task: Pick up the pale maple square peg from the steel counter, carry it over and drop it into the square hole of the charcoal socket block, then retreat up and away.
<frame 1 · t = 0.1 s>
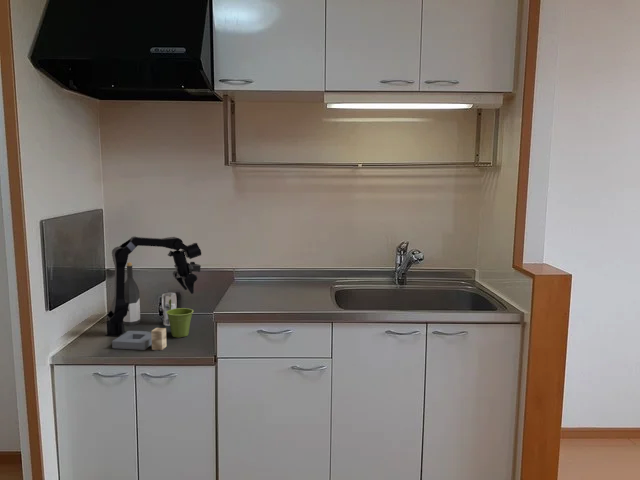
hand: (189, 291, 230), 15 cm above the worktop, tool pointing down, fingers open, 9 cm apart
wine bottle: (131, 323, 230), on the worktop
plant pot: (180, 335, 213), on the worktop
socket block: (136, 343, 201), on the worktop
beer glass: (169, 324, 229), on the worktop
maple peg: (159, 348, 196), on the worktop
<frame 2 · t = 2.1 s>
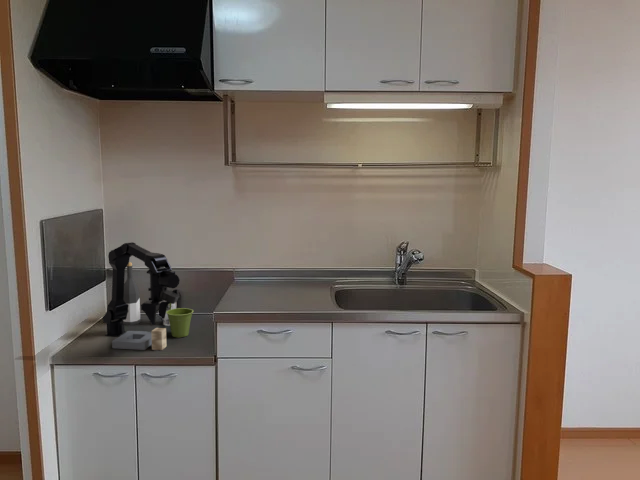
hand: (158, 321, 195), 11 cm above the worktop, tool pointing down, fingers open, 9 cm apart
nothing on the worktop moved.
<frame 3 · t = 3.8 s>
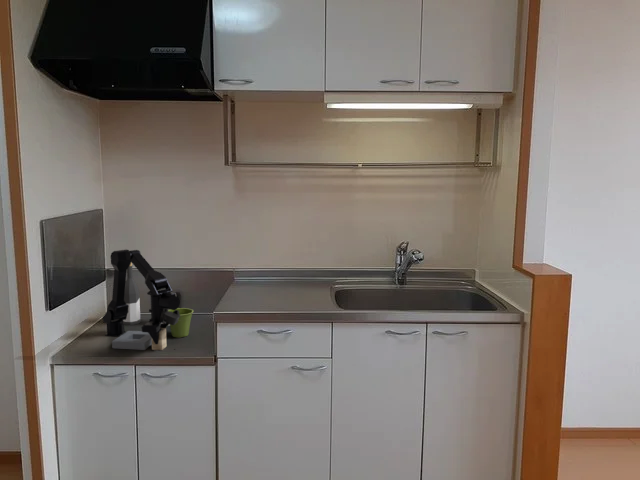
hand: (159, 342, 196), 3 cm above the worktop, tool pointing down, fingers closed on maple peg, 4 cm apart
maple peg: (159, 347, 196), on the worktop, touching gripper
everything else where it was.
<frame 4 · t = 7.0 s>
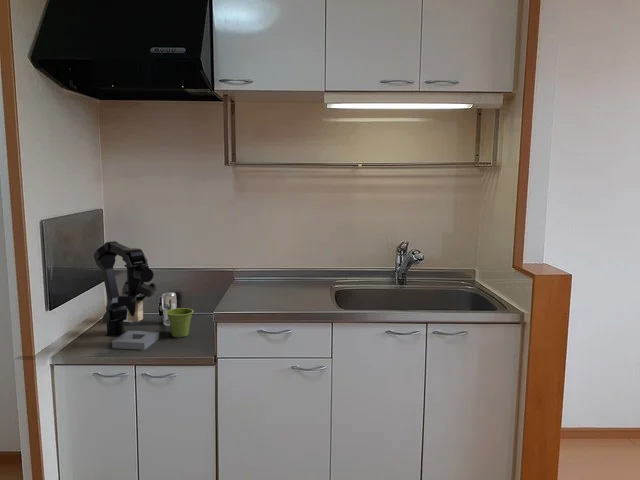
hand: (135, 314, 200), 13 cm above the worktop, tool pointing down, fingers closed on maple peg, 4 cm apart
maple peg: (135, 320, 200), point 10 cm above the worktop, touching gripper
everything else where it was.
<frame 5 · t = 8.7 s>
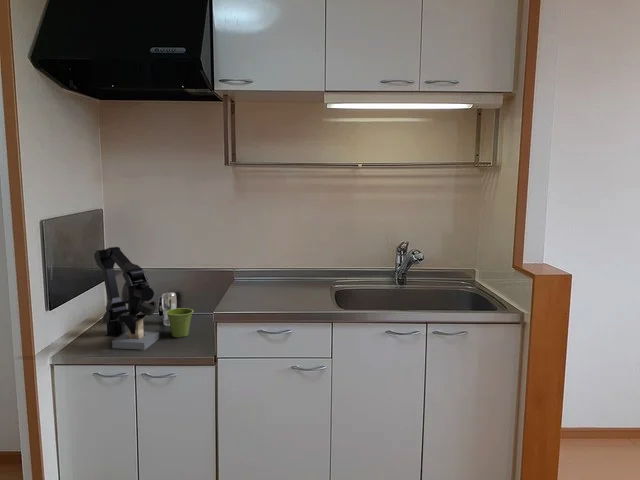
hand: (136, 332, 201), 5 cm above the worktop, tool pointing down, fingers closed on maple peg, 4 cm apart
maple peg: (136, 338, 201), point 2 cm above the worktop, touching gripper
everything else where it was.
when the fingers open (4 cm above the worktop, at t = 10.1 s): maple peg drops 2 cm, resting in socket block.
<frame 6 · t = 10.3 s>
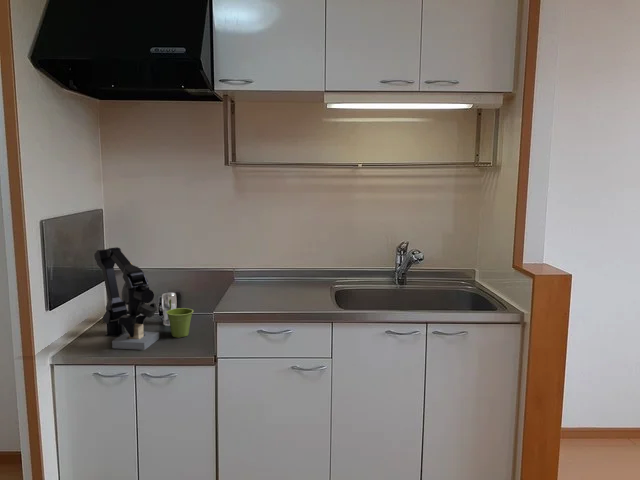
hand: (136, 334, 201), 4 cm above the worktop, tool pointing down, fingers open, 7 cm apart
maple peg: (136, 343, 201), resting in socket block
everything else where it was.
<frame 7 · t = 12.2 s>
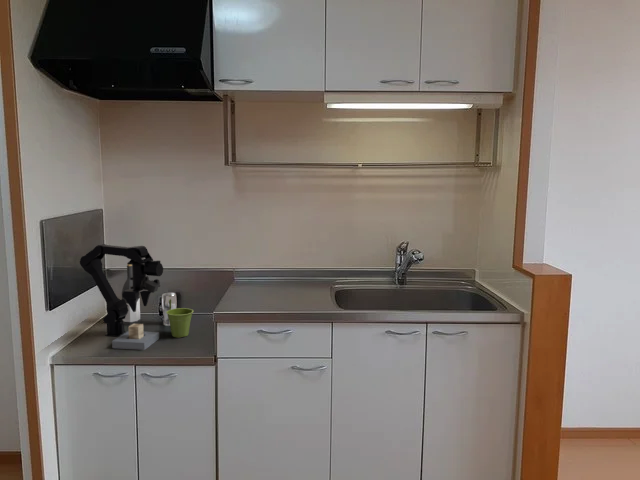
hand: (139, 308, 208), 13 cm above the worktop, tool pointing down, fingers open, 9 cm apart
nothing on the worktop moved.
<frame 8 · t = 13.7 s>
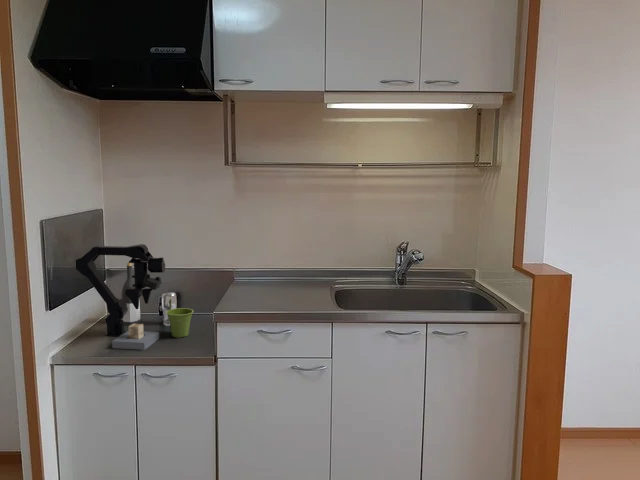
hand: (141, 306, 212), 13 cm above the worktop, tool pointing down, fingers open, 9 cm apart
nothing on the worktop moved.
at the end: maple peg 0.0 cm off-centre on the socket block, point 0.0 cm above the socket block's base; maple peg tilted 0°; the gripper is holding nothing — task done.
